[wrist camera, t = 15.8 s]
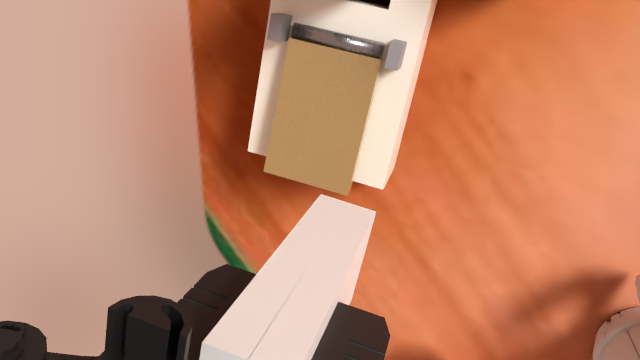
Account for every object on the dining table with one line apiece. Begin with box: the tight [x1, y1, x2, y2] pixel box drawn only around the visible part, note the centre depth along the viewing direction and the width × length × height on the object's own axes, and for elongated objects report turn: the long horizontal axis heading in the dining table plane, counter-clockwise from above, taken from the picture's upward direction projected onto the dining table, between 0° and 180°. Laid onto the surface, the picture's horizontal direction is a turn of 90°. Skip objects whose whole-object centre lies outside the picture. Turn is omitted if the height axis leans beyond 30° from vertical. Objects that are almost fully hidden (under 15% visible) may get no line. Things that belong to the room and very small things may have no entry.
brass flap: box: [263, 22, 385, 196], centre depth 36 cm, size 10×6×1 cm, turn 168°
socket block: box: [248, 0, 437, 189], centre depth 36 cm, size 18×10×7 cm, turn 168°
